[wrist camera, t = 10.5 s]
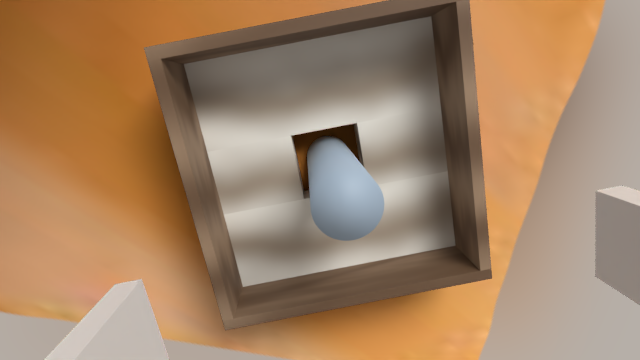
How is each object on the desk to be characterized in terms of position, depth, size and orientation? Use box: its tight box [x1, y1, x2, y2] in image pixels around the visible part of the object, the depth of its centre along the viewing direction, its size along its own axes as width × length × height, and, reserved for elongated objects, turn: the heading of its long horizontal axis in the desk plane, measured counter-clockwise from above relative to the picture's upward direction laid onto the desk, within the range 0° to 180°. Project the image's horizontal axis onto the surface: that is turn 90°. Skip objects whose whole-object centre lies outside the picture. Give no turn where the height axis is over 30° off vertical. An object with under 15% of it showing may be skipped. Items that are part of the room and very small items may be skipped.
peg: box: [307, 136, 384, 241], centre depth 25 cm, size 4×4×14 cm
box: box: [144, 0, 492, 330], centre depth 28 cm, size 20×20×7 cm
